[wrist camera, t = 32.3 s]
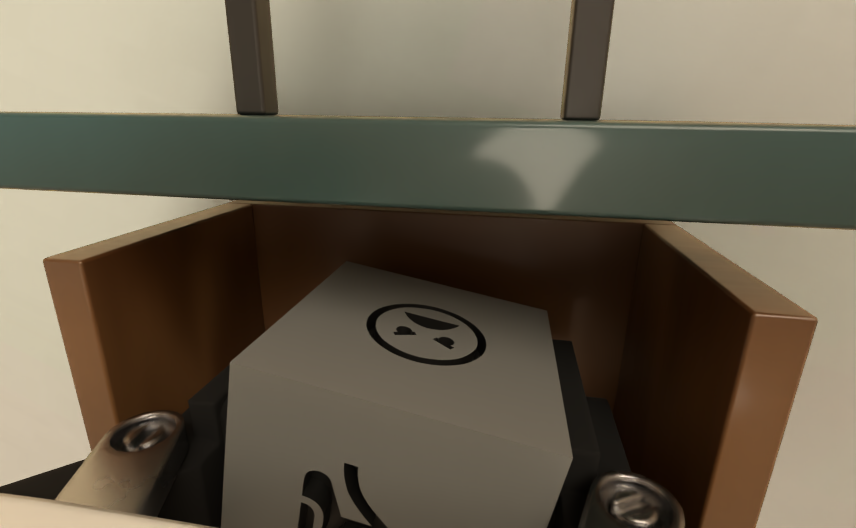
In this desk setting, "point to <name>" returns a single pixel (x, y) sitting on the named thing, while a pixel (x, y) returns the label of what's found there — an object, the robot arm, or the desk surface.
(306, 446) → the dice cube
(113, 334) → the drawer
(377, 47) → the desk surface
